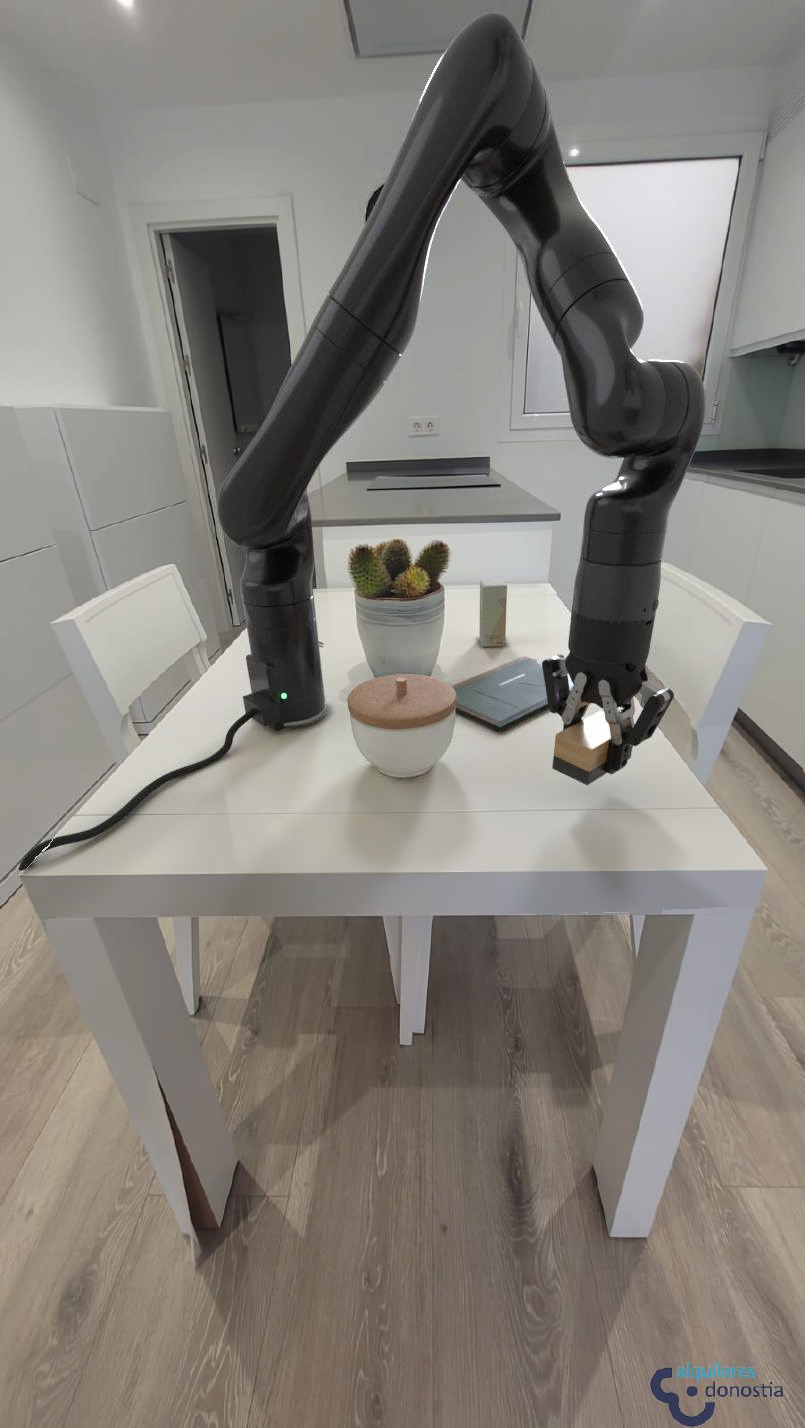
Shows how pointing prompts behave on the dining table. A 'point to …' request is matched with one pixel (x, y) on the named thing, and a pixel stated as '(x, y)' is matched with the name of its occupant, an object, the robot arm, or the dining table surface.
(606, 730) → the eraser
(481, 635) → the box
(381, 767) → the lidded bowl
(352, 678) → the dining table surface
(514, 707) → the chalkboard
